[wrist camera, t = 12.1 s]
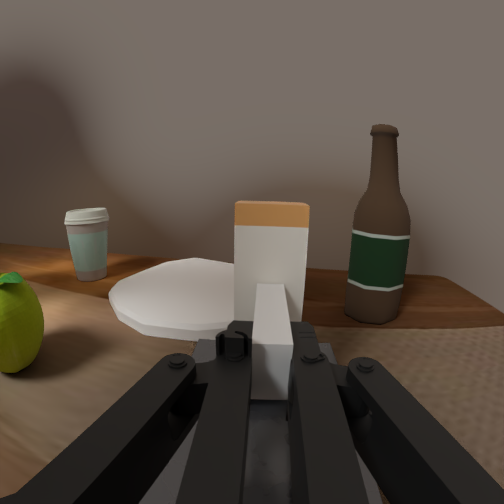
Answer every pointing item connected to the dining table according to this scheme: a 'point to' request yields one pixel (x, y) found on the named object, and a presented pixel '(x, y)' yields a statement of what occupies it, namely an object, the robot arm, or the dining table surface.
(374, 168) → the beer bottle
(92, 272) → the coffee cup
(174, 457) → the fader console
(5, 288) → the fruit
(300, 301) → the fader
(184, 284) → the decorative plate
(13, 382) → the dining table surface
